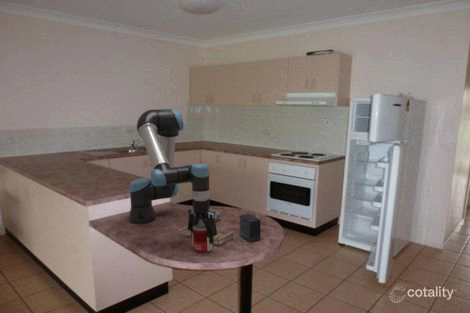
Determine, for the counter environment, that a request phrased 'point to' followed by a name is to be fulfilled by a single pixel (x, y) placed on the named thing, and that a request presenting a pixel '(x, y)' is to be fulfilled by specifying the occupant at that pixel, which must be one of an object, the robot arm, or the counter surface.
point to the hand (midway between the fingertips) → (202, 247)
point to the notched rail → (217, 240)
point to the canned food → (200, 238)
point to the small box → (250, 227)
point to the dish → (212, 213)
